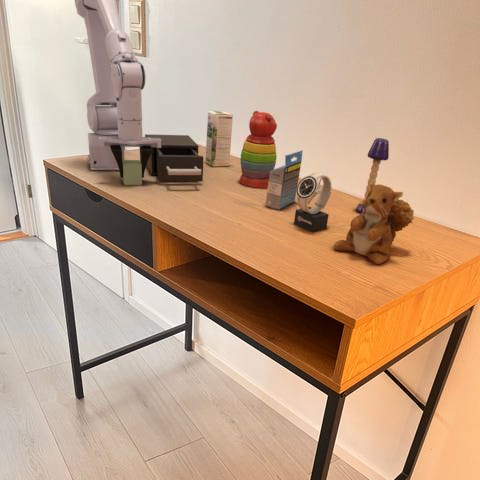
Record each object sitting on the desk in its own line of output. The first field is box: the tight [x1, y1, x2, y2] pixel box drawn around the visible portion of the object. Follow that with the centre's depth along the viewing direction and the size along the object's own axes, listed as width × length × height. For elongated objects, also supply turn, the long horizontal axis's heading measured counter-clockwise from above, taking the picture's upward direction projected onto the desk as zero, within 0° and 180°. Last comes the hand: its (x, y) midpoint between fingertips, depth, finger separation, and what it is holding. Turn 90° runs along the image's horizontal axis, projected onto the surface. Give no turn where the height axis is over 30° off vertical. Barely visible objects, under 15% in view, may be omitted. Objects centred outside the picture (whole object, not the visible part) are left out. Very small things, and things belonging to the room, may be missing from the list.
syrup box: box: [205, 110, 234, 168], centre depth 143 cm, size 6×6×14 cm
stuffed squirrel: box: [332, 182, 415, 265], centre depth 92 cm, size 10×14×13 cm
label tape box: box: [265, 150, 303, 210], centre depth 114 cm, size 9×4×12 cm, turn 149°
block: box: [121, 159, 143, 186], centre depth 122 cm, size 4×4×5 cm
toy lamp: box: [355, 137, 390, 215], centre depth 113 cm, size 5×5×17 cm
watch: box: [293, 172, 332, 233], centre depth 102 cm, size 6×8×11 cm
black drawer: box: [154, 148, 204, 183], centre depth 126 cm, size 17×11×6 cm, turn 17°
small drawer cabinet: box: [144, 133, 199, 177], centre depth 135 cm, size 13×12×8 cm
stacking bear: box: [239, 110, 278, 189], centre depth 127 cm, size 11×10×18 cm
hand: (131, 176), depth 123 cm, fingers closed on block, 4 cm apart
